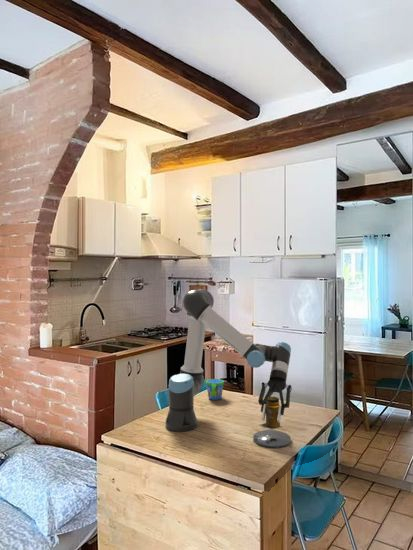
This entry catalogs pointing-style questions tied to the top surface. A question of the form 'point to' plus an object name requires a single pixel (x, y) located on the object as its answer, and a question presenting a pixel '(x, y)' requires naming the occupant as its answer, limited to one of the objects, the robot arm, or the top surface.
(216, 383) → the snack cup
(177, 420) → the robot arm
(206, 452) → the top surface
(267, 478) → the top surface
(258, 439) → the grey round disc
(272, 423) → the condiment
